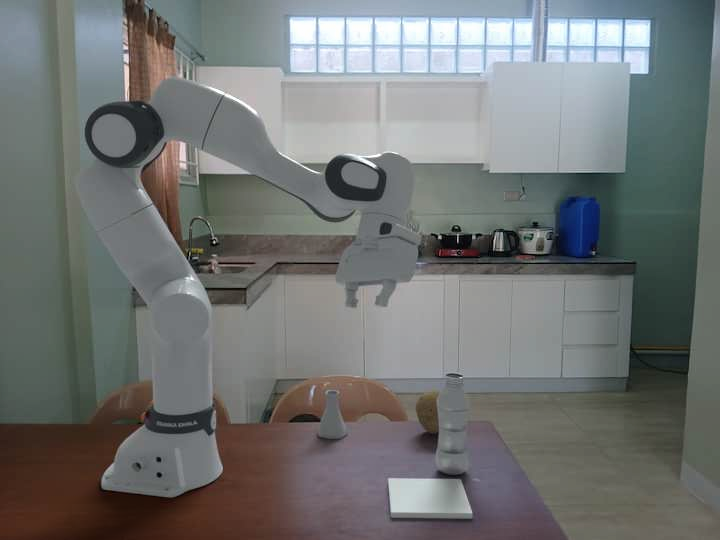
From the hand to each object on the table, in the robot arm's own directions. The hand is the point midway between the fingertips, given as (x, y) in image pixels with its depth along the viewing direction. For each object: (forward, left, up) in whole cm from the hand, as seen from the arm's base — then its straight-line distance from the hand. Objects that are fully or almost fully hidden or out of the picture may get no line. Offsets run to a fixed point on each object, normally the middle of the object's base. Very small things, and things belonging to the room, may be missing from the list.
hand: (365, 307), depth 106 cm
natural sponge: (+17, +25, -35) cm, 46 cm away
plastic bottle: (+18, +6, -35) cm, 40 cm away
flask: (-7, +24, -35) cm, 43 cm away
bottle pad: (+12, -5, -35) cm, 37 cm away
